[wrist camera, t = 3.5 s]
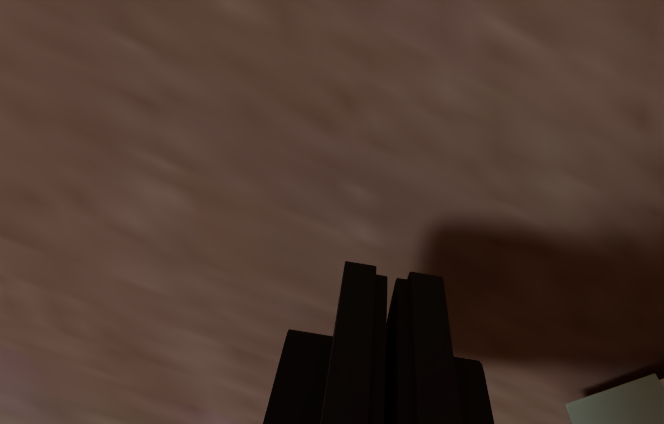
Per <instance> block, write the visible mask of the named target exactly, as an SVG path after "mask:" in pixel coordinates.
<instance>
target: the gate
mask: <svg viewBox="0 0 664 424" xmlns="http://www.w3.org/2000/svg"><path fill="white" fill-rule="evenodd" d="M565 406H566V408H567V411H568V414H569V417H570V420H571V423H572V424H664V378H663V379H661V380H659V379H658V378H657V376H656V374H655V373H654V374H651V375H648V376H645V377H643V378H640V379H637V380H634V381H631V382H628V383H625V384H622V385H619V386H616V387H614V388H611V389H608V390H605V391H602V392H599V393H596V394H593V395H590V396H587V397H585V398H582V399H579V400H576V401H573V402H570V403H567V404H565Z"/></svg>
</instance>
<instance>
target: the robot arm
mask: <svg viewBox="0 0 664 424" xmlns="http://www.w3.org/2000/svg"><path fill="white" fill-rule="evenodd" d="M386 317H387V276H382V275H376V266H372V265H366V264H360V263H353V262H347V261H345V266H344V272H343V278H342V284H341V291H340V297H339V303H338V309H337V315H336V322H335V328H334V334H333V336H327V335H321V334H315V333H309V332H303V331H296V330H290V329H289V330H288V332H287V336H286V339H285V343H284V347H283V350H282V354H281V358H280V362H279V365H278V369H277V373H276V377H275V380H274V384H273V388H272V392H271V396H270V399H269V403H268V407H267V411H266V414H265V418H264V422H263V424H494V420H493V415H492V410H491V405H490V400H489V395H488V390H487V384H486V379H485V374H484V370H483V367H482V364H481V363H480V361H477V360H471V359H465V358H459V357H453V350H452V342H451V335H450V327H449V320H448V312H447V305H446V297H445V289H444V282H443V278H442V277H440V276H434V275H428V274H422V273H415V272H410V273H409V276H408V279H407V280H406V279H400V278H397V279H396V282H395V286H394V290H393V295H392V300H391V304H390V309H389V314H388V318H387V323H386Z"/></svg>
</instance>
